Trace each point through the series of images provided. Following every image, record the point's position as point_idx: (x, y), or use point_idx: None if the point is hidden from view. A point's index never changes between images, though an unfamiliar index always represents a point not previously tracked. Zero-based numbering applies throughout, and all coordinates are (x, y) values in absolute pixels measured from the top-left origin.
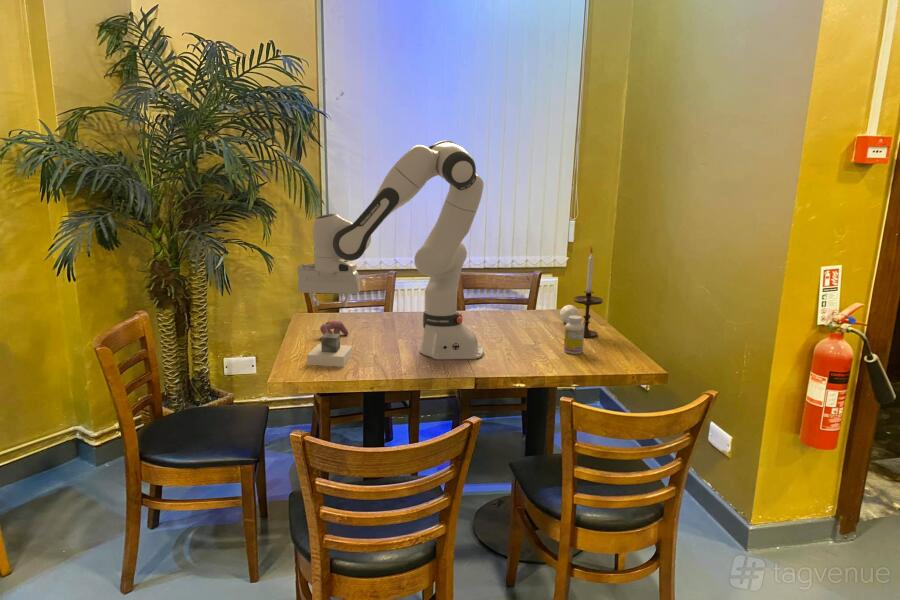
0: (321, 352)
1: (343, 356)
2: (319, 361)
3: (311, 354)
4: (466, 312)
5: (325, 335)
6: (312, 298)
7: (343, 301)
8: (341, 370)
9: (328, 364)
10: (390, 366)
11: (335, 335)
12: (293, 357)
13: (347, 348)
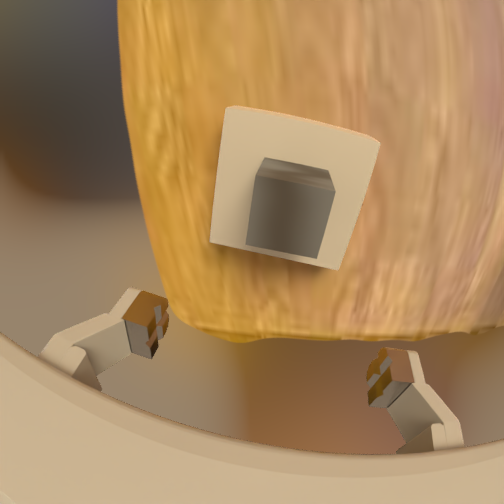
0: None
1: (338, 267)
2: None
3: (222, 238)
4: None
5: (261, 215)
6: (105, 366)
7: (390, 400)
8: (326, 276)
9: None
10: (458, 258)
11: (312, 218)
12: (157, 148)
13: (358, 177)
